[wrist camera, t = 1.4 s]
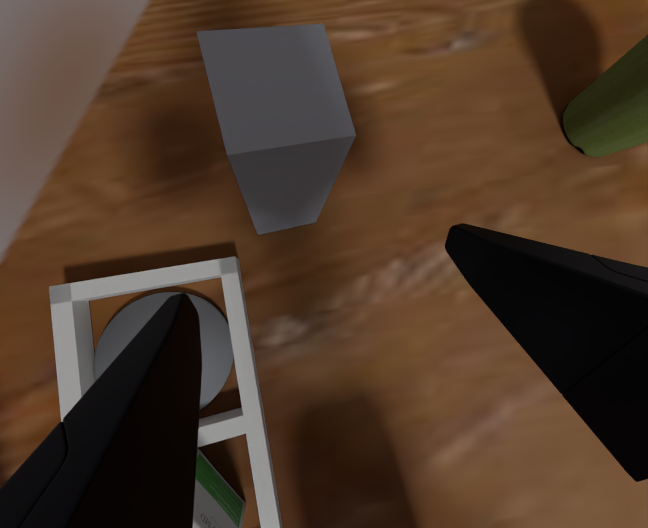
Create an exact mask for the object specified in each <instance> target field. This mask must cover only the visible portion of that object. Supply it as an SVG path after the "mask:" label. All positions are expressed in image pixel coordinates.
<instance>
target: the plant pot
mask: <svg viewBox="0 0 648 528" xmlns="http://www.w3.org/2000/svg"><path fill="white" fill-rule="evenodd" d="M563 126H564V130H565V132H566V135H567V137H568V139H569V140H570V142H571V143H572V144H573V145H574V146H577V147H579V148H581V149H582V150H583V151H584V154H586V155H589V156H593V157H602V156H605V155H608V154H612V153H615V152H618V151H621V150H624V149H627V148H630V147H633V146H636V145H640V144H643V143H646V142H648V35H647V36H646V37H645V38H643V39H642V40H641V41H640V42H639V43H638V44H636V45H635V46H634V47H633V48H632V49H631V50H629V51H628V52H627V53H626V54H625V55H624V56H623V57H621V58H620V59H619V60H618V61H617V62H616V63H614V64H613V65H612V66H611V67H610V68H609V69H608V70H606V71H605V72H604V73H603V74H602V75H601V76H600V77H598V78H597V79H596V80H595V81H594V82H593V83H591V84H590V85H589V86H588V87H587V88H586V89H585V90H583V91H582V92H581V93H580V94H579V95H577V96H576V97H575V98H574V99H573V100H572V101H571V102H570V103H569V104H568V107H567V108H566V110H565V112H564V114H563Z"/></svg>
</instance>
